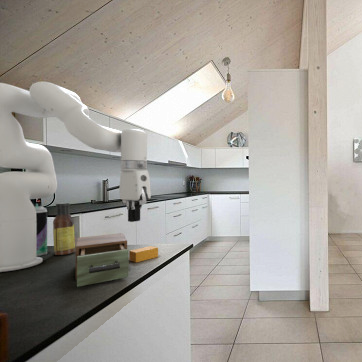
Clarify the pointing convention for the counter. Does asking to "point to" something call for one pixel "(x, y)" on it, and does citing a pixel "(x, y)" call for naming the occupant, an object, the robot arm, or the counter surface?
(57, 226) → the sauce bottle
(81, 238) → the cabinet
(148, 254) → the orange block
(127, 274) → the drawer
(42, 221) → the spray can
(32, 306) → the counter surface
